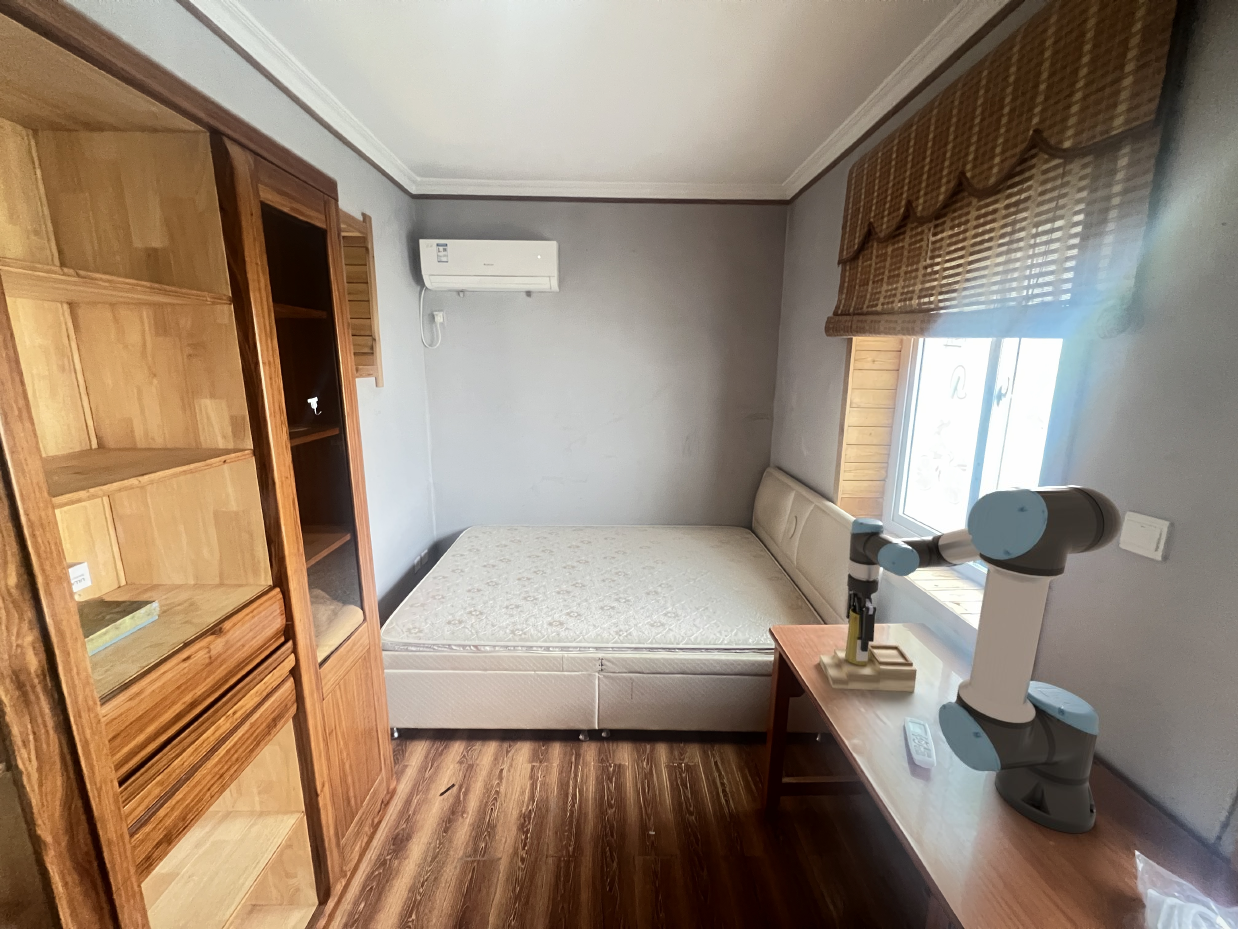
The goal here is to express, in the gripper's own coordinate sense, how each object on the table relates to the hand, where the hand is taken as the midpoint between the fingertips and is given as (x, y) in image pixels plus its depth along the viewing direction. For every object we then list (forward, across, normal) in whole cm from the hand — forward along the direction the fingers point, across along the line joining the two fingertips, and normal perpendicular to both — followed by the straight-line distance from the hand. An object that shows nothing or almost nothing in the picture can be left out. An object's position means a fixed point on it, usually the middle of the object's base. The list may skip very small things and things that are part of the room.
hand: (857, 653), depth 138 cm
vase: (+2, 0, 0) cm, 2 cm away
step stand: (+7, 0, -2) cm, 7 cm away
